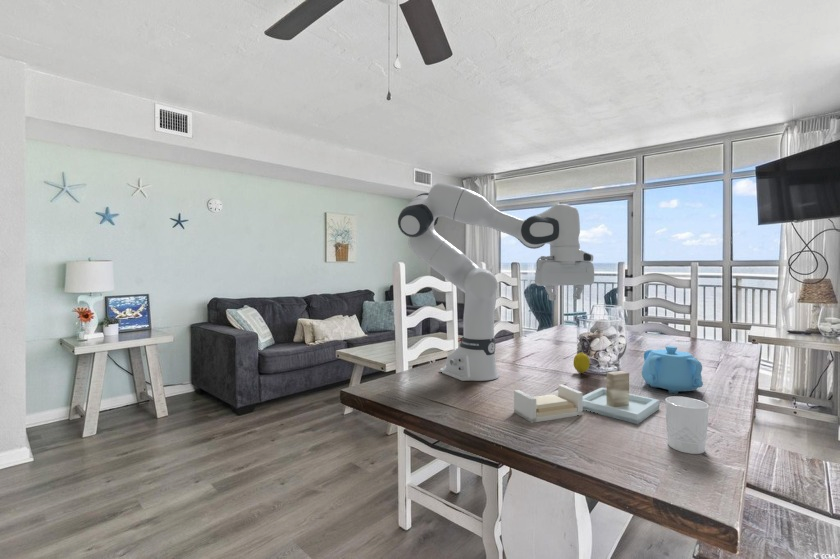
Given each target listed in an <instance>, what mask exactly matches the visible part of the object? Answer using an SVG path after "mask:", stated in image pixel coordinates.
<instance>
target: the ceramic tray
mask: <svg viewBox="0 0 840 559" xmlns="http://www.w3.org/2000/svg"><path fill="white" fill-rule="evenodd" d="M606 403H607V387H603V386H602V387H599V388H597V389H595V390H593V391H590V392H588V393H587V394H583V410H582V411H586V410H587V411H586V412H590V411H591V413H593V412H595V413H594V414H597V413H598V414H597V415H601V416H605V417H608V418H613V419H616V420H619V421H623V422H626V423H628V422H629V423H632V424H635V425H639V424H640V423H641V422H642V421H644V420H645V419H648V417H649V416H651V415H652V414H654V413H656V412H657V411H658V410H660V399H657V398H651V397H647V396H644V395H643V396H642V395H639V394H633V393H629V405H627V406H621V407H612V406H608V405H606Z"/></svg>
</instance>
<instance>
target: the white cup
mask: <svg viewBox="0 0 840 559" xmlns="http://www.w3.org/2000/svg"><path fill="white" fill-rule="evenodd" d="M664 399H665V400H664V402H665V403H664V404H665V424H666V433H667V436H666V437H667V444H668V446H669V447H670V448H672V449H673V450H676V451H678V452H681V453H685V454H689V455H690V454H691V455H700V454H704V453H705V451H706V440H707V435H708V434H707V433H708V425H709V423H708V422H709V409H710V404H708V403H707V402H705V401H702V400H700V399H696V398H692V397H687V396H677V395H676V396H675V395H674V396H668V397H666V398H664Z"/></svg>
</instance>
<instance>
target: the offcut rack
mask: <svg viewBox="0 0 840 559" xmlns="http://www.w3.org/2000/svg"><path fill="white" fill-rule="evenodd" d="M557 385H558V386H557V387H558V389H557V390H558V391H557V392H558V393H557V395H555V394H545V395H538V396H531V395H530V394H528V393H526V392H524V391H522V390H519V389H515V390H513V412H514V414H516V415H518V416H520V418H521V417H522V418H523V419H524V420H526V421H527V422H529V423H531V424H534V423H538V422H540V423H541V422H545V421H546V422H547V421H551V420H559V419H565V418H572V417H578V416H577V415H579V416H583V411H584V410H583V396H584V394H583V391H580V390H577V389H574V388H572V387H570V386H567V385H565V384H557Z"/></svg>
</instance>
